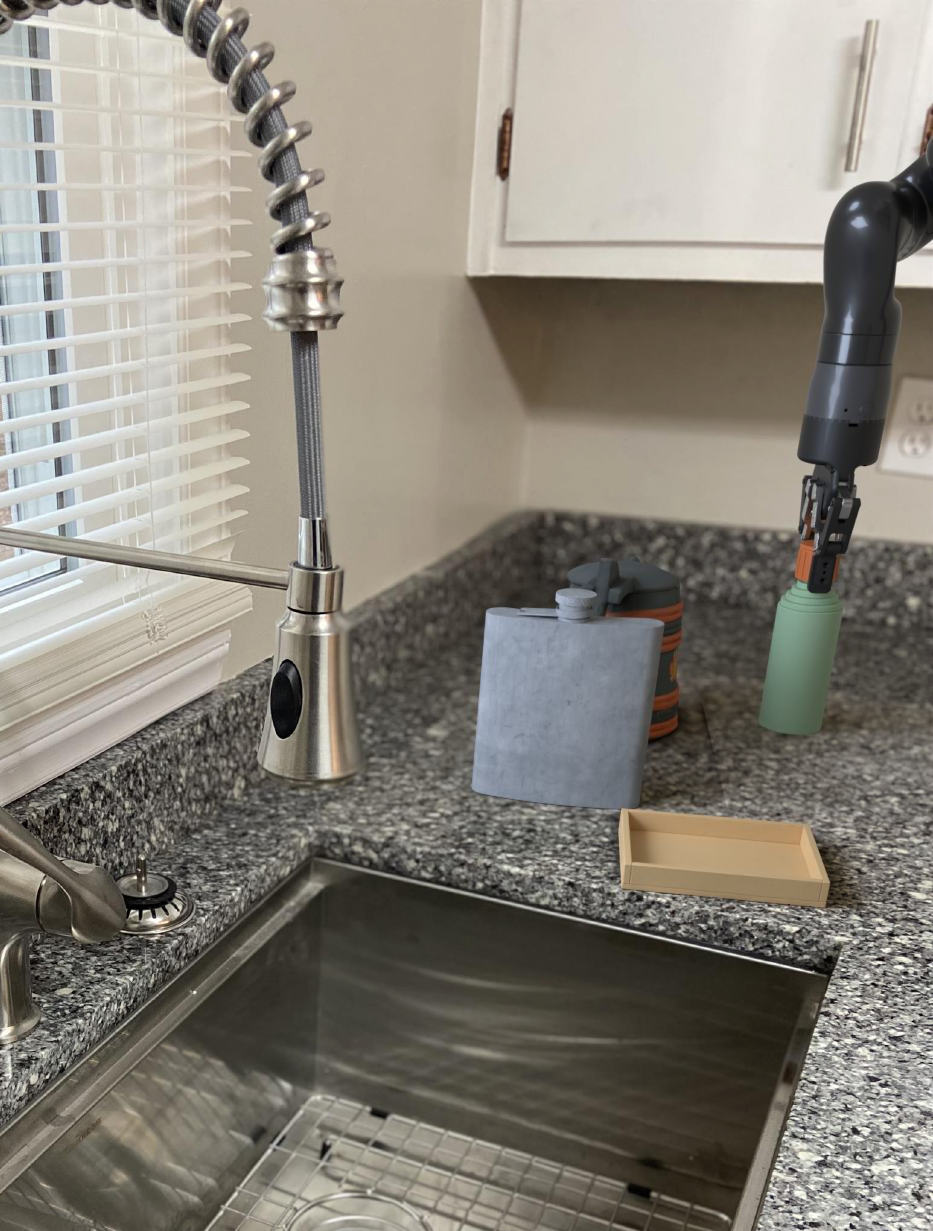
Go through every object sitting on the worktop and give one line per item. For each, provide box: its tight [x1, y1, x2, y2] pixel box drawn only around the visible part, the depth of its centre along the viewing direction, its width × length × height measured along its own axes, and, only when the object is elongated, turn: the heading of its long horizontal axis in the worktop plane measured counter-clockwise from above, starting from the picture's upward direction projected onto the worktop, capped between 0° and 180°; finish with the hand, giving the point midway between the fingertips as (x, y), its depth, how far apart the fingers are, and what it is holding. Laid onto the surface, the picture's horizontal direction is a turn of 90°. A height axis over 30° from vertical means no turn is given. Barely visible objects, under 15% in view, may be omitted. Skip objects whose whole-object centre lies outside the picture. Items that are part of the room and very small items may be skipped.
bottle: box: [757, 579, 844, 736], centre depth 148 cm, size 6×6×20 cm
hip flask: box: [471, 587, 665, 810], centre depth 131 cm, size 16×4×20 cm, turn 75°
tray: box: [617, 808, 831, 909], centre depth 121 cm, size 16×12×2 cm
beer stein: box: [566, 555, 684, 742], centre depth 148 cm, size 19×15×20 cm
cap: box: [794, 540, 842, 583], centre depth 144 cm, size 4×4×4 cm
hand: (813, 586), depth 145 cm, fingers closed on cap, 3 cm apart
